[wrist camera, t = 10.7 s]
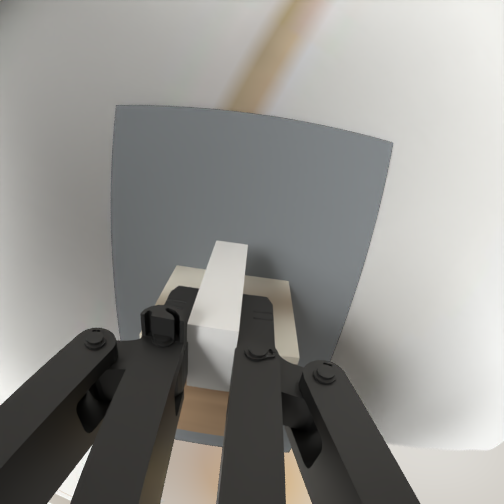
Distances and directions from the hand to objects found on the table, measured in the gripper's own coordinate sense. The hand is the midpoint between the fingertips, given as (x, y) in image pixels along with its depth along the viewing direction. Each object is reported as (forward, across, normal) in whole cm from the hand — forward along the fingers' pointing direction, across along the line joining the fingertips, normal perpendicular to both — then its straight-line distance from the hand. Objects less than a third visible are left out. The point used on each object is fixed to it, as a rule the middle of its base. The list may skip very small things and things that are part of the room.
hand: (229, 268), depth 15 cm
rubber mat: (+4, 0, -8) cm, 8 cm away
